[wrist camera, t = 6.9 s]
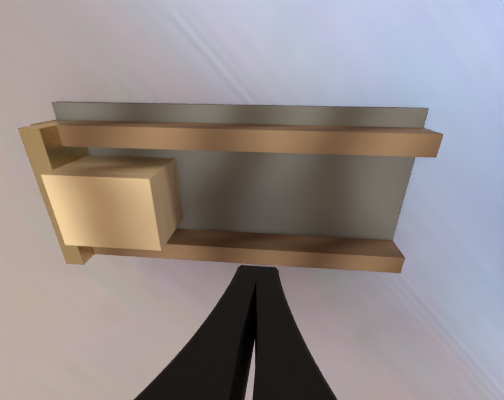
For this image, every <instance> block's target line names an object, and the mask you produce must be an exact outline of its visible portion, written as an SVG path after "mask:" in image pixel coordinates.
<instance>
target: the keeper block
mask: <svg viewBox="0 0 504 400" xmlns="http://www.w3.org/2000/svg"><path fill="white" fill-rule="evenodd" d="M41 177H42V180H43V182H44V185H45V188H46V191H47V194H48V197H49V200H50V203H51V205H52V208H53V211H54V214H55V217H56V220H57V223H58V225H59V228H60V231H61V234H62V237H63V240H64V243H65V245H74V246H91V247H107V248H124V249H140V250H157V251H161V250H162V249H163V247H164V246H165V244H166V243H167V241H168V240H169V238H170V237H171V235H172V234H173V232H174V231H175V229H176V228H177V227H178V225H179V224H180V222H181V221H182V219H183V213H182V204H181V195H180V187H179V178H178V170H177V161H176V158H162V157H132V156H101V155H88V156H86V157H83V158H81V159H79V160H76V161H74V162H71V163H69V164H66V165H64V166H61V167H59V168H56V169H54V170H51V171H49V172H46V173H44V174H41Z"/></svg>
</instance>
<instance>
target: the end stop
mask: <svg viewBox="0 0 504 400" xmlns="http://www.w3.org/2000/svg"><path fill="white" fill-rule="evenodd" d="M75 121H79V120H59V121H54V122H49V123H43V124H38V125H33V126H27V127H22V128H18V130H19V133H20V136H21V139H22V141H23V144H24V147H25V150H26V152H27V155H28V158H29V161H30V164H31V166H32V169H33V172H34V175H35V178H36V180H37V183H38V186H39V189H40V191H41V194H42V197H43V200H44V203H45V205H46V208H47V211H48V214H49V216H50V219H51V222H52V225H53V228H54V230H55V233H56V236H57V239H58V241H59V244H60V247H61V250H62V253H63V255H64V258H65V261H66V264H80V265H84V264H85V263H86V262H87V261H88V260H89V259H90V258H91V257H92V256H93V255H94V254H95V253H94V250H93V247H91V246H74V245H65V243H64V240H63V237H62V234H61V231H60V228H59V225H58V223H57V220H56V217H55V214H54V211H53V208H52V205H51V203H50V200H49V197H48V194H47V191H46V188H45V185H44V182H43V180H42V177H41V174H44V173H46V172H49V171H51V170H54V169H56V168H59V167H61V166H64V165H66V164H69V163H71V162H74V161H76V160H79V159H81V158H83V157H86V156H88V155H89V152H88V148H87V147H70V146H62V142H61V139H60V136H59V132H58V129H57V126H56V125H60V124H65V123H70V122H75Z"/></svg>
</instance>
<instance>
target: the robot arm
mask: <svg viewBox="0 0 504 400" xmlns="http://www.w3.org/2000/svg"><path fill="white" fill-rule="evenodd" d="M254 341H255V378H254V390H253V400H337V398H336V397H335V395H334V393H333V392H332V390H331V388H330V387H329V385H328V383H327V382H326V380H325V379H324V377H323V375H322V373H321V371H320V370H319V368H318V366H317V364H316V363H315V361H314V359H313V357H312V355H311V353H310V351H309V350H308V348H307V346H306V344H305V342H304V340H303V338H302V335H301V333H300V331H299V329H298V327H297V325H296V323H295V320H294V318H293V315H292V313H291V311H290V308H289V306H288V303H287V301H286V298H285V295H284V292H283V289H282V286H281V282H280V278H279V272H278V270H277V269H276V267H261V266H246V265H241V266H240V267H238V269H237V271H236V273H235V275H234V277H233V279H232V281H231V283H230V284H229V286H228V288H227V289H226V291H225V293H224V294H223V296H222V297H221V299H220V300H219V302H218V303H217V305H216V306H215V308H214V309H213V311H212V312H211V313H210V315H209V316H208V317H207V319H206V320H205V321H204V323H203V324H202V325H201V327H200V328H199V329H198V331H197V332H196V333H195V334H194V336H193V337H192V338H191V339H190V341H189V342H188V343H187V344H186V345H185V346H184V348H183V349H182V350H181V351H180V352H179V353H178V354H177V356H176V357H175V358H174V359H173V360H172V361H171V362H170V363H169V364H168V365H167V367H166V368H165V369H164V370H163V371H162V372H161V373H160V374H159V375H158V376H157V377H156V378H155V379H154V380H153V381H152V382H151V383H150V384H149V385H148V386H147V387H146V388H145V389H144V390H143V391H142V392H141V393H140V394H139V395H138V396H137V397H136V398H135V399H134V400H244V399H245V394H246V388H247V382H248V376H249V370H250V364H251V358H252V353H253V347H254Z"/></svg>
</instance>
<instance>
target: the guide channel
mask: <svg viewBox="0 0 504 400" xmlns="http://www.w3.org/2000/svg"><path fill="white" fill-rule="evenodd" d="M52 105H53V109H54V112H55V115H56V119H57V120H53V121H47V122H42V123H36V124H31V125H30V126H33V125H38V124H43V123H49V122H54V121H59V120H79V121H75V122H70V123H65V124H60V125H56V126H57V129H58V132H59V136H60V139H61V142H62V146H70V147H87V148H88V152H89V155H101V156H132V157H162V158H176V161H177V170H178V178H179V187H180V195H181V204H182V213H183V219H182V221H181V222H180V224H179V225H178V227H177V228H176V229H175V231H174V232H173V234H172V235H171V237H170V238H169V240H168V241H167V243H166V244H165V246H164V247H163V249H162V250H161V251H157V250H140V249H124V248H107V247H93V250H94V253H95V254H104V255H120V256H136V257H152V258H168V259H184V260H200V261H216V262H232V263H248V264H264V265H280V266H296V267H312V268H328V269H344V270H360V271H376V272H392V273H400V272H401V269H402V266H403V263H404V259H405V257H404V256H403V255H402V253H401V252H400V250H399V249H398V248H397V246H396V245H395V243H394V242H393V241H392V240H393V236H394V232H395V229H396V225H397V222H398V218H399V214H400V211H401V207H402V203H403V200H404V196H405V193H406V189H407V185H408V182H409V178H410V175H411V171H412V167H413V164H414V160H415V157H436V156H437V153H438V150H439V147H440V144H441V140H442V137H443V134H441V133H438V132H435V131H432V130H428V129H425V128H424V124H425V120H426V117H427V113H428V108H400V107H339V106H278V105H217V104H157V103H96V102H52Z"/></svg>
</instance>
